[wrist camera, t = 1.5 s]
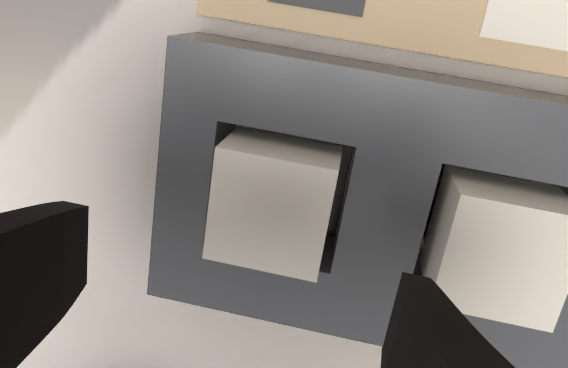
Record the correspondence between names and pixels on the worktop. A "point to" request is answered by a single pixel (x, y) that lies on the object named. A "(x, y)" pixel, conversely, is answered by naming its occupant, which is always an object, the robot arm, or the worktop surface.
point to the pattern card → (424, 26)
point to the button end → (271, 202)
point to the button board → (360, 183)
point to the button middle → (499, 247)
